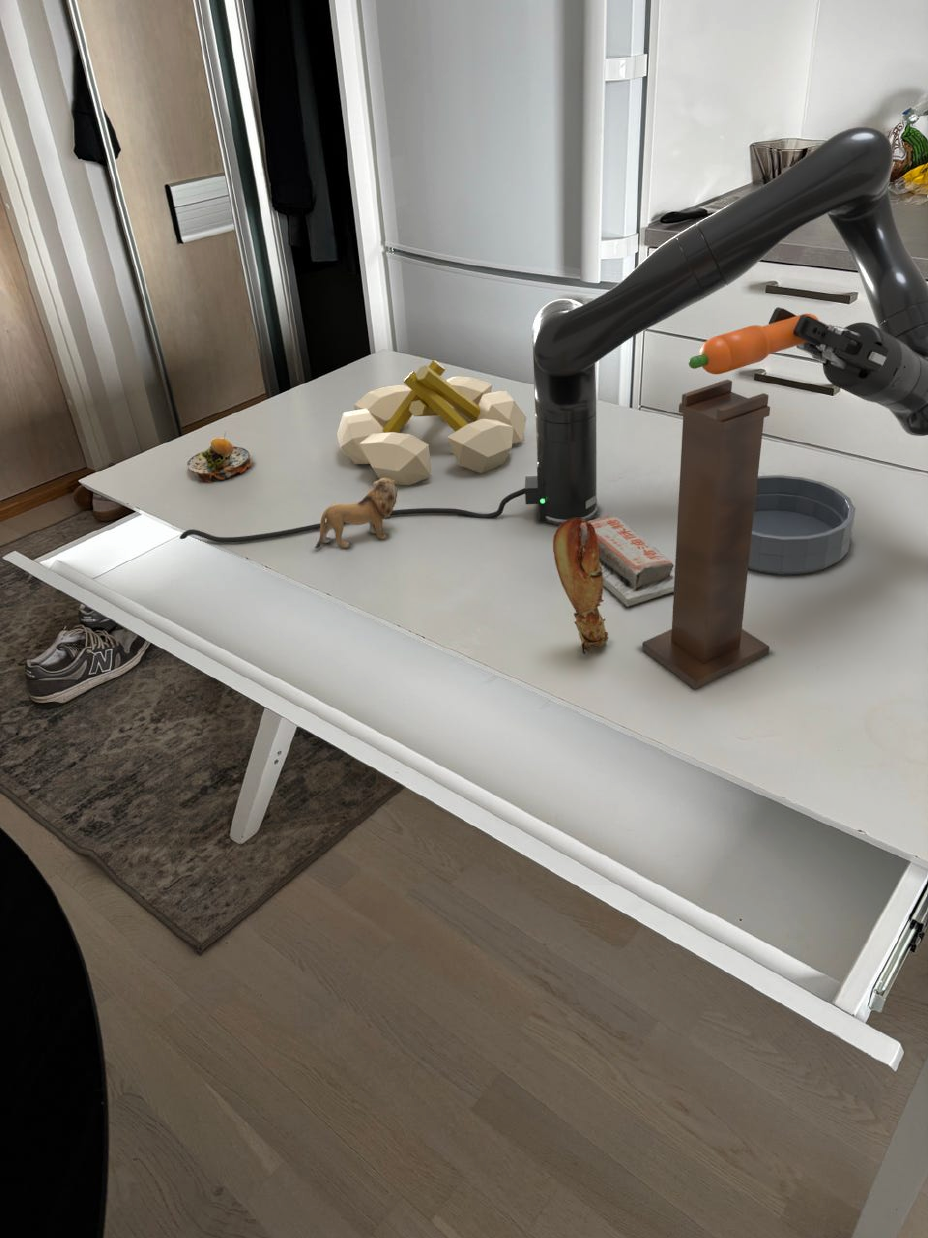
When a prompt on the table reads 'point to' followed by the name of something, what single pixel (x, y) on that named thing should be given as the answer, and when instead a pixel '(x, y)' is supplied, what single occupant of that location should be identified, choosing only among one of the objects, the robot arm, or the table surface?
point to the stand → (713, 536)
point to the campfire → (428, 394)
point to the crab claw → (581, 579)
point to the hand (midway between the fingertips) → (787, 320)
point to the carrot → (746, 346)
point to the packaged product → (630, 562)
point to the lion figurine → (360, 512)
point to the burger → (219, 460)
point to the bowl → (798, 525)
